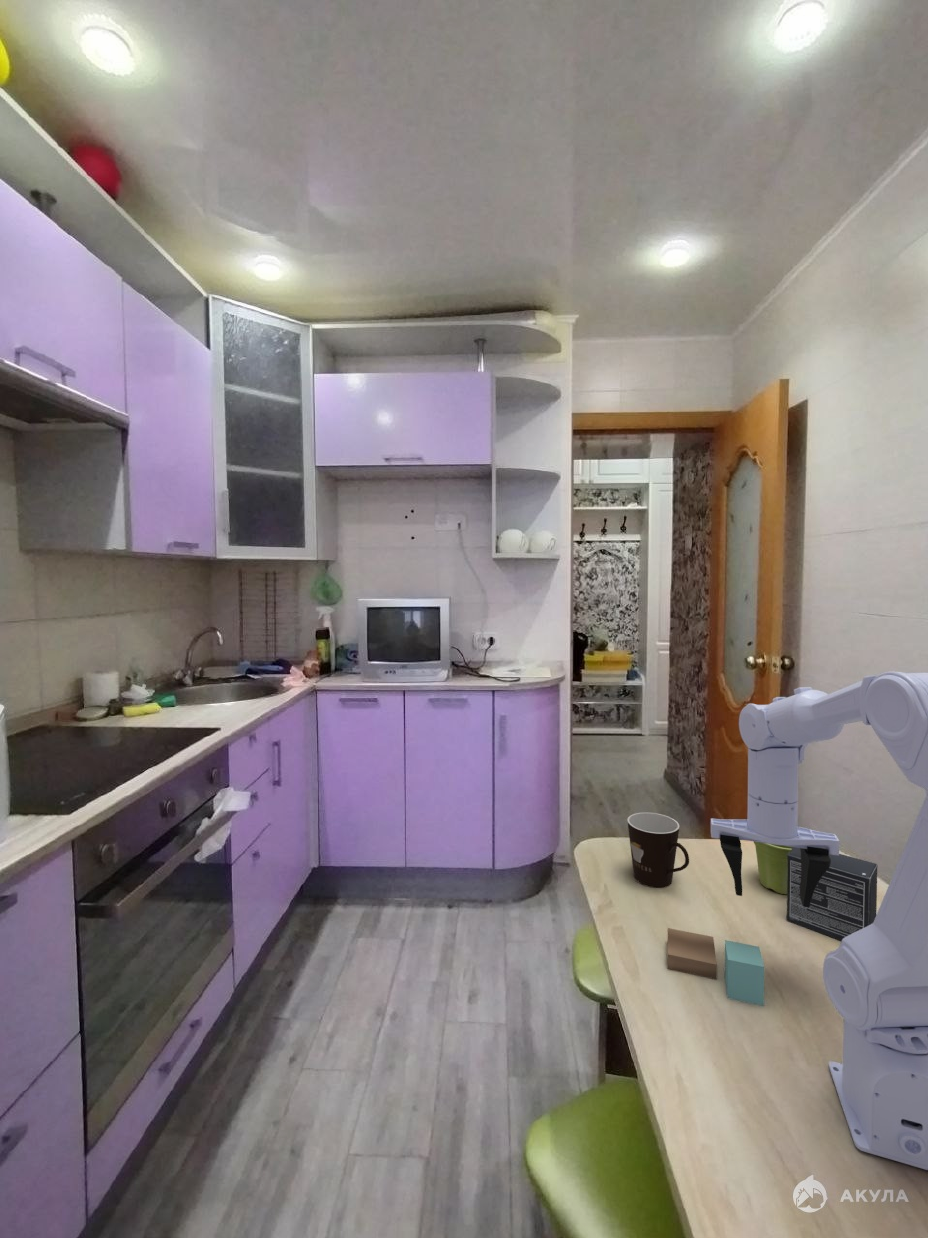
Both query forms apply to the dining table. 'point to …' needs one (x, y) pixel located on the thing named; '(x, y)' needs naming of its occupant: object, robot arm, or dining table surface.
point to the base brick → (692, 953)
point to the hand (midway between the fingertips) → (770, 897)
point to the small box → (834, 896)
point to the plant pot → (773, 866)
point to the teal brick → (744, 973)
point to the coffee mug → (654, 848)
